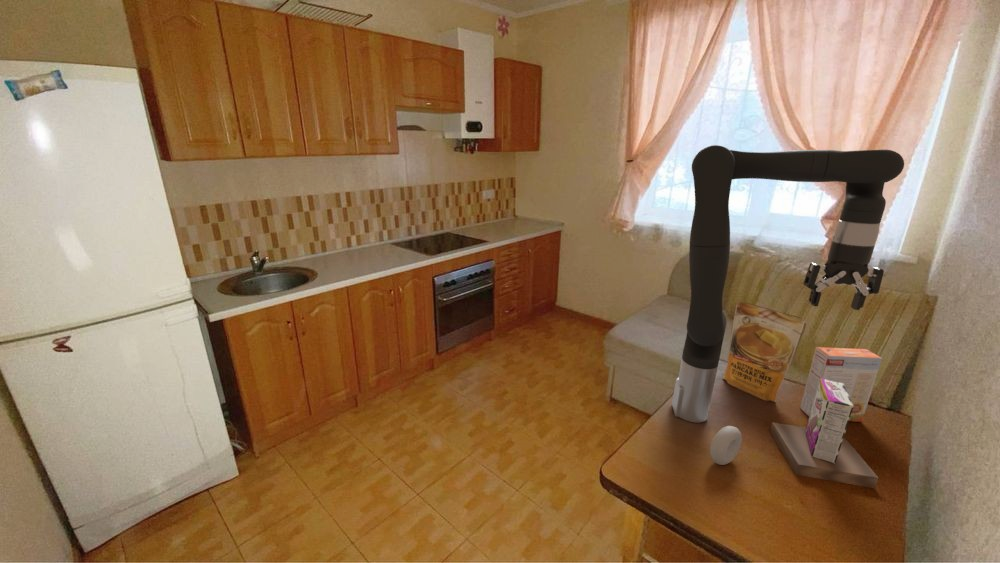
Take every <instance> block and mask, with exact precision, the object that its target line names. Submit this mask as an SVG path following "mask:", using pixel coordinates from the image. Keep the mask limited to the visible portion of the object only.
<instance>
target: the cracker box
mask: <svg viewBox="0 0 1000 563" xmlns="http://www.w3.org/2000/svg"><path fill="white" fill-rule="evenodd" d="M813 352H814V353H813V355H812V360H811V364H810V368H809V371H808V375H807V379H806V383H805V387H804V391H803V393H802V398H801V403H800V406H799V408H800V410H802V412H804V414H805V415H806V416H808V418H809V417H810V414H811V410H812V407H813V403H814V399H815V396H816V392H817V388H818V385H819V381H820V378H821V379H827V380H831V381H835V382H840V383H844V386H845V388H846V390H847V392H848V395H849V397H850V399H851V401H852V404H853V406H854V407H853V410H852V413H851V416H850V419H849V422H855V423H856V422H857V423H862V422H863V419H864V416H865V412H866V410H867V408H868V403H869V400H870V397H871V394H872V392H873V389H874V386H875V383H876V380H877V376H878V373H879V370H880V367H881V364H882V360H883V357H881V356H880V355H877V354H876V353H874V352H873V351H871V350H869V349H867V348H850V347H849V348H847V347H846V348H843V347H828V346H827V347H825V346H824V347H823V346H816V347H815V348H814V351H813Z"/></svg>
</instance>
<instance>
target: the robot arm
mask: <svg viewBox="0 0 1000 563" xmlns="http://www.w3.org/2000/svg"><path fill="white" fill-rule="evenodd" d="M904 168H905V160H904V158H903V156H902V155H901V154H900V153H899V152H897V151H894V150H891V149H864V150H863V149H862V150H837V149H836V150H835V149H798V150H797V149H796V150H794V149H793V150H781V151H764V152H763V151H760V152H758V151H741V150H735V149H734V150H733V149H729V148H728V147H726V146H725V145H724V146H723V145H719V144H712V145H709V146H706V147H703V148H702V149H701V150H700V151H698V152H697V154H696V155H695V156H694V158H693V160H692V163H691V171H692V177H693V185H694V186H693V188H694V211H693V215H692V216H693V217H692V222H691V227H690V228H691V229H690V234H689V235H690V236H689V249H688V250H689V253H688V254H689V257H688V260H689V262H688V263H689V283H690V304H689V311H688V317H687V323H686V337H685V341H684V344H683V345H684V346H683V349H682V354H681V361H680V366H679V374H678V377H676V379H675V383H674V384H675V385H674V391H673V395H672V401H671V402H672V403H671V406H672V409H673V414H674V416H675V417H676V418H677V417H678V418H680V419H682V420H684V421H686V422H690V423H699V424H700V423H704V422H706V421H707V420H708V416H709V413H710V406H711V402H712V398H713V397H712V396H713V392H714V386H715V382H716V378H717V377H716V376H717V371H718V367H719V362H720V359H721V358H720V357H721V352H722V346H723V344H724V343H723V341H724V338H725V333H726V328H727V317H726V315H725V313H724V312H723V295H724V289H725V285H726V280H727V275H728V271H729V270H728V269H729V265H730V264H729V262H730V250H731V249H730V248H731V224H730V223H731V222H730V210H729V207H730V206H729V204H730V193H731V187H732V181H733V180H742V179H752V180H753V179H757V180H758V179H762V180H773V181H782V182H801V183H802V182H803V183H831V182H834V183H835V182H839V183H840V182H841V183H845V199H844V202H843V205H842V209H841V212H840V216H839V220H838V222H837V225H836V227H835V230H834V233H833V235H832V240H831V243H830V246H829V250H828V254H827V260H826V263H824V264H820V263H816V262H814V261H813V262H810V263H809V265H808V268H807V272H806V274H805V277H804V280H803V286H805V287H806V288H808V289H810V293H809V297H808V303H810V304H811V305H812V306H813V307H818V306H819V303H820V300H821V296H822V291H823V290H824V289H826V288H827V287H830V286H832V285H833V284H836V285H847V286H848V285H849V286H853V287H854V289H855V290H856V292H854V295H853V299H852V301H851V304H850V308H851V309H853V310H855V311H860V310H861V309H862V308H863V307H864V304H865V301H866V299H867V296H868V295H872V294H874V295H877V294H878V293H880V289H881V284H882V281H883V277H884V272H885V271H884V269H882V268H880V267H877V266H872V267H869V264H870V262H871V259H872V256H873V253H874V249H875V246H876V243H877V240H878V237H879V233H880V225H881V222H882V218H883V215H884V212H885V208H886V203H887V202H886V201H887V200H886V199H885V197H884V196H883V192H884V187H885V183H888V182H890V181H892V180H894V179H896V178H897V177H898V176H899V175H900V174H902V172H903V170H904ZM822 271H823V272H824V274H822V275H821V276H820V277H819V278H818V276H819V274H820V273H822ZM866 275H867V276H868V280H867V284H865V281H864V280H863V277H864V276H866Z"/></svg>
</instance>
